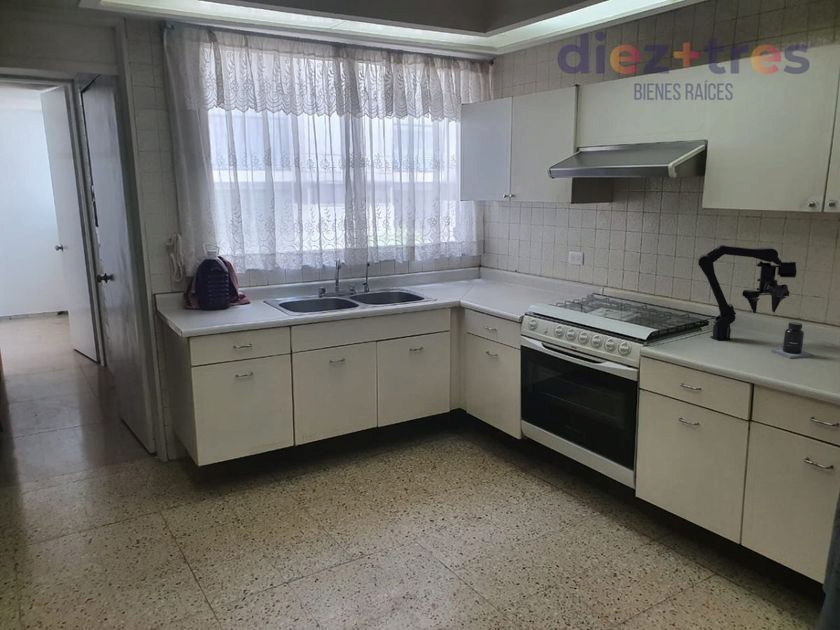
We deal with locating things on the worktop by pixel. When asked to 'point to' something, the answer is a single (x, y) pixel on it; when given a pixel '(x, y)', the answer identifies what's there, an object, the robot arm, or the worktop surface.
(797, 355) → the plate
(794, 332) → the supplement bottle
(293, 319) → the worktop surface
